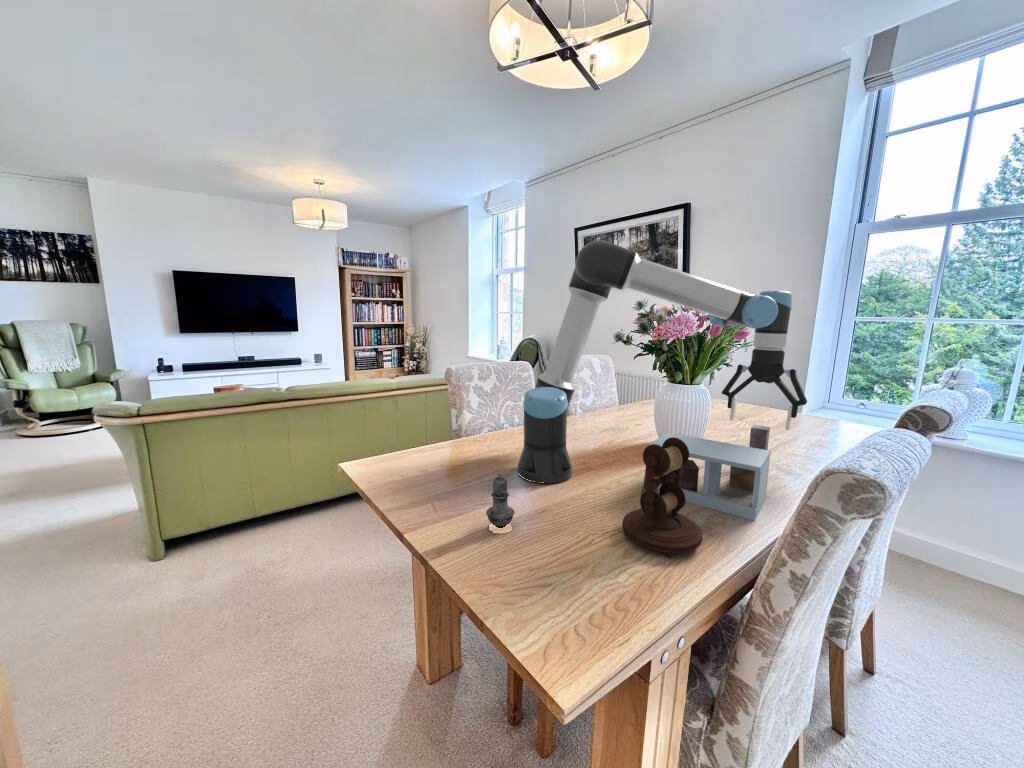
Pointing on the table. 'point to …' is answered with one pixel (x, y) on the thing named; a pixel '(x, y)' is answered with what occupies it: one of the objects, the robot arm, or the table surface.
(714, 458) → the shelf
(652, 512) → the thread spool stand
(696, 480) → the box
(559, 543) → the table surface
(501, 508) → the salt shaker
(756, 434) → the walnut block
